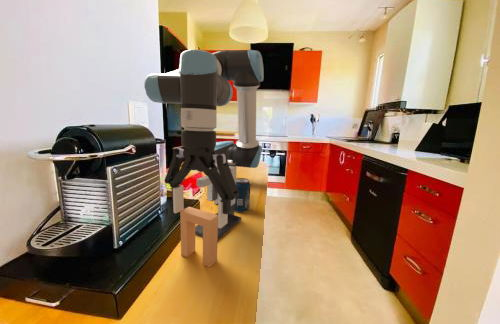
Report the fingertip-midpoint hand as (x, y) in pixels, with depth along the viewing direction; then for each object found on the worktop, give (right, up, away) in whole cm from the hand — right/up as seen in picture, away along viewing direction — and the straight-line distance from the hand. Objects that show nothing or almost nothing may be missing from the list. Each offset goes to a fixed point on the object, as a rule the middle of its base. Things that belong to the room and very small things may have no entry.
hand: (199, 218), depth 49 cm
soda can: (+8, -5, +31) cm, 32 cm away
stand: (+2, -7, +17) cm, 19 cm away
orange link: (-1, -10, +2) cm, 11 cm away
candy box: (+1, -3, +41) cm, 41 cm away
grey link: (+3, +1, +17) cm, 17 cm away
